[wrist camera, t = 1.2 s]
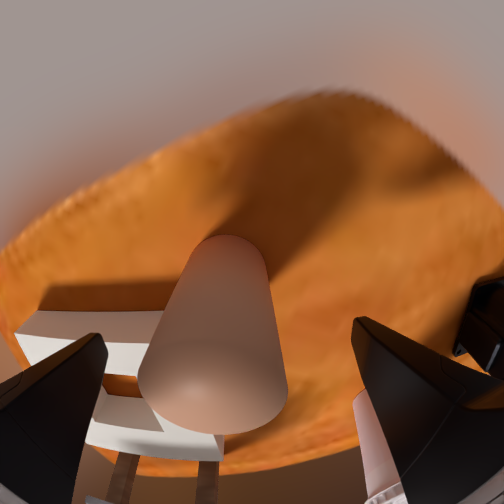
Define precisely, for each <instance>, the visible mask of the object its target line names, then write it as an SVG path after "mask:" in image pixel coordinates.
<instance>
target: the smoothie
mask: <svg viewBox="0 0 504 504" xmlns="http://www.w3.org/2000/svg"><path fill="white" fill-rule="evenodd" d="M353 410H354V415H355V420H356V425H357V430H358V436H359V441H360V447H361V453H362V459H363V465H364V472H365V478H366V486H367V492H368V500H367V501H366V502H365V504H408V502H407V499H406V496H405V493H404V490H403V487H402V484H401V481H400V479H401V478H399V475H398V472H397V469H396V466H395V463H394V460H393V458H392V455H391V452H390V449H389V447H388V444H387V441H386V439H385V436H384V433H383V431H382V428H381V425H380V423H379V420H378V418H377V415H376V413H375V410H374V408H373V405H372V403H371V400H370V398H369V395H368V393H367V390H366V389H364V390H363V391H362V392H360V393H359V394H358V395H357V396H356V398H355V399H354V401H353Z"/></svg>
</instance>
